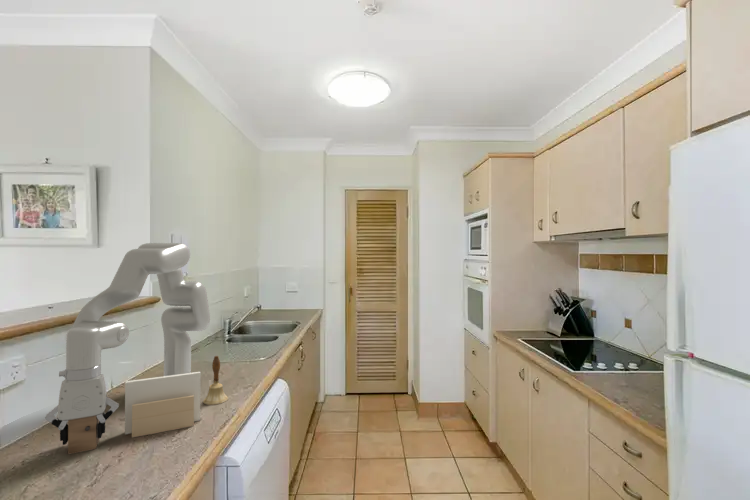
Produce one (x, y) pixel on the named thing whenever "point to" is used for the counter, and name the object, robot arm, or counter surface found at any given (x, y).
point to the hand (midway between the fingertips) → (83, 438)
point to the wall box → (82, 434)
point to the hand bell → (215, 387)
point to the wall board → (162, 403)
